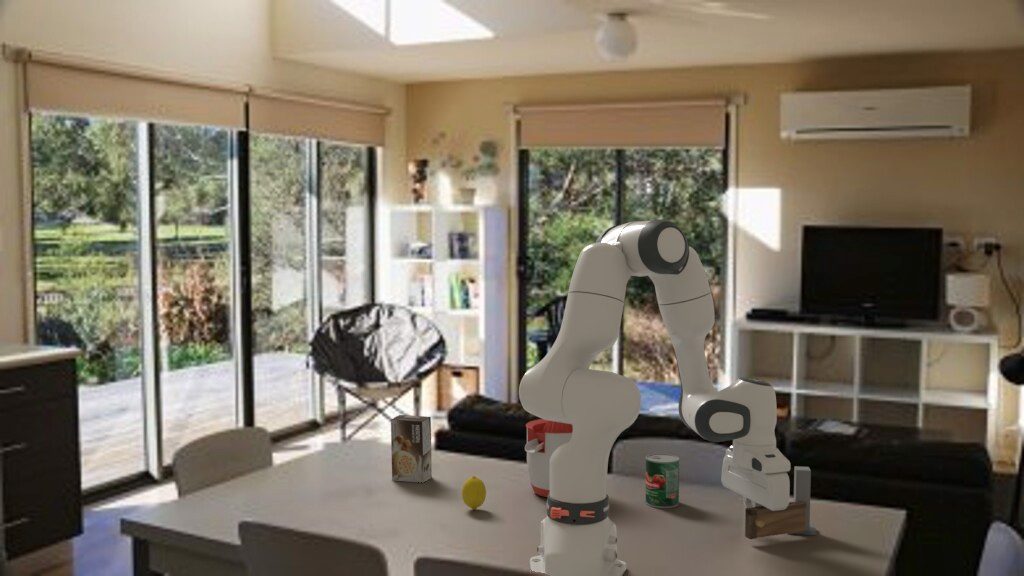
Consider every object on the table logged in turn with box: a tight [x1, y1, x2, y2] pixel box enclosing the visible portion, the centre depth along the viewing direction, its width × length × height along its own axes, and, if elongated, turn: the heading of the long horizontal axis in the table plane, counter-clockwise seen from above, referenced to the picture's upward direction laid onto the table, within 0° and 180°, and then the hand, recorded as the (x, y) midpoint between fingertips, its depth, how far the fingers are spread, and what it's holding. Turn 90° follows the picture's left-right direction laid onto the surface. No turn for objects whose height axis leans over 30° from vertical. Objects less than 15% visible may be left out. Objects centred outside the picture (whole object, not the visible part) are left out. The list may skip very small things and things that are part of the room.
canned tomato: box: [645, 453, 680, 509], centre depth 228 cm, size 8×8×11 cm
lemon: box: [461, 475, 487, 511], centre depth 223 cm, size 6×6×8 cm
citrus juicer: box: [524, 418, 573, 498], centre depth 236 cm, size 16×17×20 cm
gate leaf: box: [744, 501, 806, 540], centre depth 201 cm, size 3×14×6 cm, turn 112°
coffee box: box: [390, 414, 433, 484], centre depth 249 cm, size 9×6×16 cm
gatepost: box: [786, 465, 818, 536], centre depth 208 cm, size 4×6×14 cm, turn 81°
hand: (752, 518), depth 204 cm, fingers closed
